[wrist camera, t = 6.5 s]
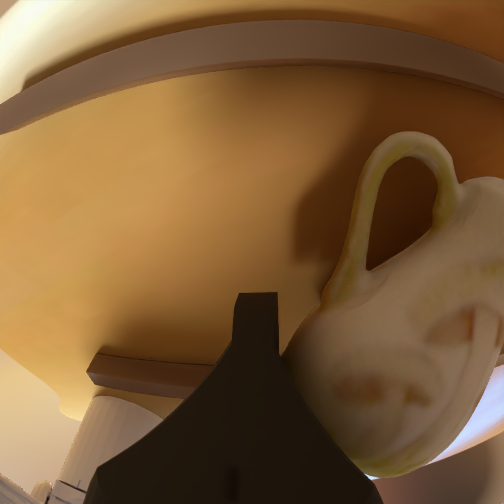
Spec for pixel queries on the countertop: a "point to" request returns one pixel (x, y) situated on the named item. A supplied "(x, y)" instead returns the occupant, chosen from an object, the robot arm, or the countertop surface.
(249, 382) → the robot arm
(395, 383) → the mug
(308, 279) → the countertop surface
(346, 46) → the frame
